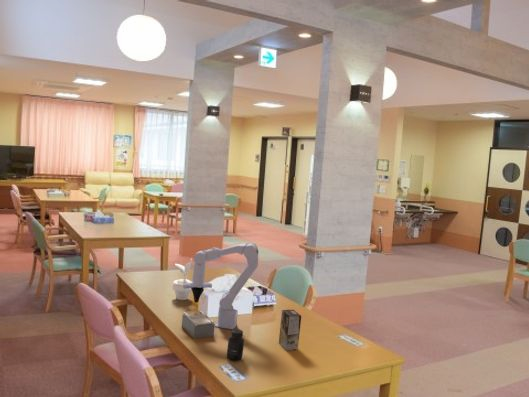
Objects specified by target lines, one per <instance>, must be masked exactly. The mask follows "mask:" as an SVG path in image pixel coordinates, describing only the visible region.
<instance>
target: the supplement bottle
mask: <svg viewBox="0 0 529 397" xmlns="http://www.w3.org/2000/svg"><path fill="white" fill-rule="evenodd" d="M243 334H244V331H243V329H239V328H238V329H237V328H234V329H231V333H230V336H229V337H228V340H227V349H226V359H227V360H229V361H231V362H240V361H242V360H243V355H244V354H243V353H244V347H245V338H244V335H243Z"/></svg>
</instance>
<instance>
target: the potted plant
mask: <svg viewBox="0 0 529 397" xmlns="http://www.w3.org/2000/svg"><path fill="white" fill-rule="evenodd" d="M189 260H190V261H189V262H187V263H186V264H185V265H183V264H179V263H174V265H175V267H176V268H178V269H179V271H180V272H181V273H182V274H183V278H179V279H175V280H173V282H172V283H173V284H172V290H174V294H175V298H176V299H177V300H178V301H187V300H189V297H190V294H191V292H192V289H191V288H186V289H184V288H183V284H187V283H192V280H189V279H187V276H188V274H187V273H188V272H190V271H191V266H192V265H193V266H194V262H193V261H194V258H193V257H192V256H191V257H190V258H189Z"/></svg>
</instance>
